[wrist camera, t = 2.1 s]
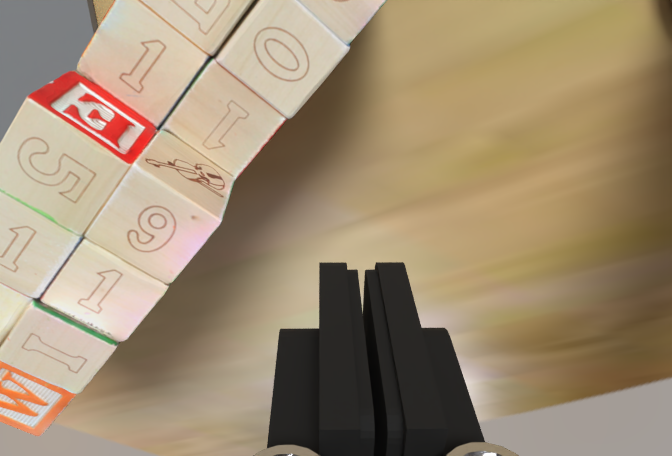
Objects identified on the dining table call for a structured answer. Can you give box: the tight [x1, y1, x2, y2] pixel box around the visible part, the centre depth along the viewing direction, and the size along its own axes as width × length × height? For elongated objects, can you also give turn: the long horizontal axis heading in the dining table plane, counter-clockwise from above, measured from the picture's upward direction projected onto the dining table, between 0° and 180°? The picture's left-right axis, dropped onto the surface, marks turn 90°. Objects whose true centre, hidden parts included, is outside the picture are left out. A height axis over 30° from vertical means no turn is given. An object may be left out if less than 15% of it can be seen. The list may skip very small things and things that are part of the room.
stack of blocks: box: [0, 0, 387, 436], centre depth 20 cm, size 21×6×12 cm, turn 139°
